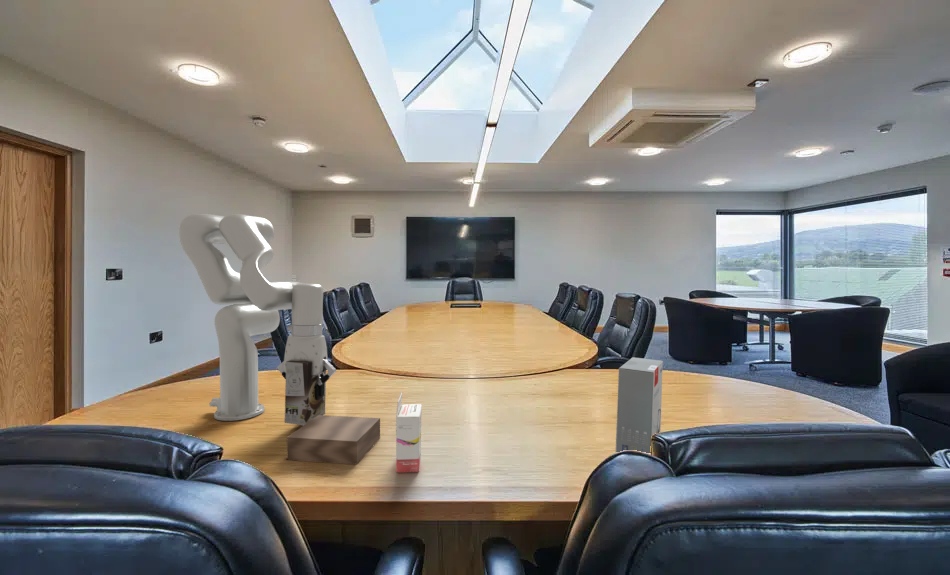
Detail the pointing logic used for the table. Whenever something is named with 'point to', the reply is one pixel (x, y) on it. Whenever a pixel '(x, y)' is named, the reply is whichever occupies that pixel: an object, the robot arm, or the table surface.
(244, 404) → the robot arm
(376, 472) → the table surface
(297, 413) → the chocolate food box
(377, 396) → the table surface
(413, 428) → the ink cartridge box
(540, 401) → the table surface
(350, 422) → the walnut plinth
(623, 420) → the hard drive box
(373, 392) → the table surface
